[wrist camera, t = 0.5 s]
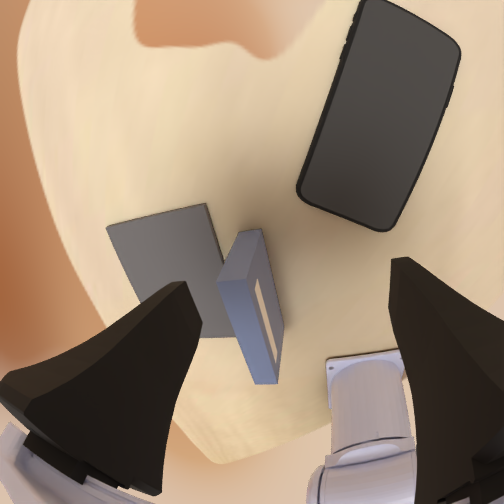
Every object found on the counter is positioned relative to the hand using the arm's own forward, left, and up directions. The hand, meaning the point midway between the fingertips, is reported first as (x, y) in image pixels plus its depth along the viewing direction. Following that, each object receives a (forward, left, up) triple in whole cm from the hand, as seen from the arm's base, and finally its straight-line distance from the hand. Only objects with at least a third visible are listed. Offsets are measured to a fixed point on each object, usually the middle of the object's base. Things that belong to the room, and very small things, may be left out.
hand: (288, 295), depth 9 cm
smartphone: (+5, -7, -10) cm, 13 cm away
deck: (-6, +3, -10) cm, 12 cm away
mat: (-5, +10, -10) cm, 15 cm away
